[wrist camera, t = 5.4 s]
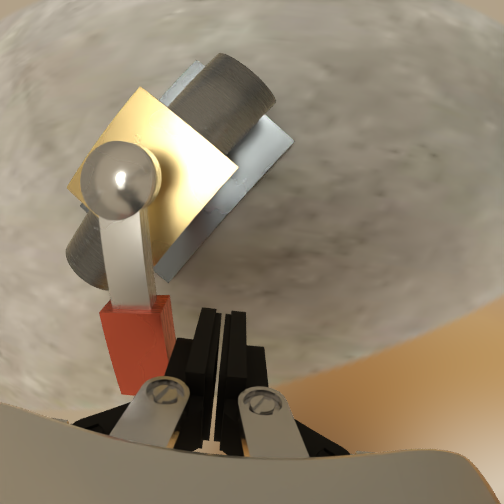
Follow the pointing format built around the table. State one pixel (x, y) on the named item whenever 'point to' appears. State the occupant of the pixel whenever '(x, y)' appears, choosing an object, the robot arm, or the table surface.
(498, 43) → the table surface
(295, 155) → the table surface
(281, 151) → the valve
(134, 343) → the lever
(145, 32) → the table surface
